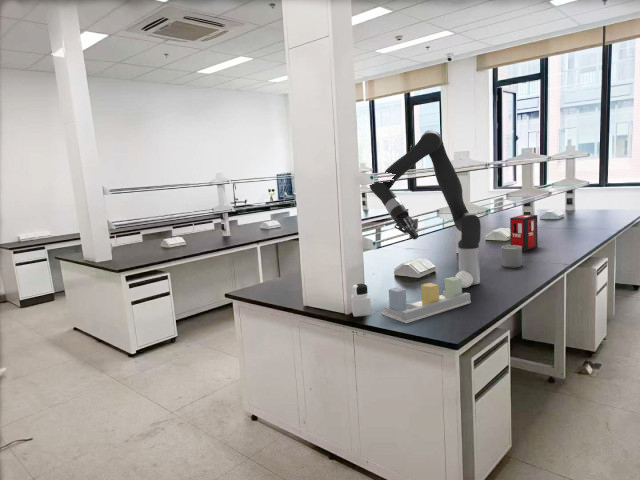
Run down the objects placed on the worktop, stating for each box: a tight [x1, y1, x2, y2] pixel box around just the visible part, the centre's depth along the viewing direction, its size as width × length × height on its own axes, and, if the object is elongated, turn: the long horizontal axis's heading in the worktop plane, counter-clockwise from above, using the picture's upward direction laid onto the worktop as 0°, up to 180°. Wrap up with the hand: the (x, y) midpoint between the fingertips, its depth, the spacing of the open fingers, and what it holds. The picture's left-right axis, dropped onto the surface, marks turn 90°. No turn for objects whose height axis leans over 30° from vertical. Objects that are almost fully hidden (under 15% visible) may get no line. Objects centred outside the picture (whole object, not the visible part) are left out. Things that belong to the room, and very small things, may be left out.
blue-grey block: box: [388, 286, 408, 312], centre depth 179 cm, size 5×4×9 cm
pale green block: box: [444, 276, 463, 299], centre depth 188 cm, size 5×4×9 cm
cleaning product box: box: [509, 214, 538, 252], centre depth 281 cm, size 16×9×20 cm, turn 130°
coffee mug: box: [501, 244, 523, 268], centre depth 243 cm, size 13×10×10 cm
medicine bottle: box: [350, 283, 372, 318], centre depth 184 cm, size 7×7×12 cm
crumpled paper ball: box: [454, 271, 473, 289], centre depth 209 cm, size 8×8×8 cm
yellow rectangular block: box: [420, 282, 440, 306], centre depth 181 cm, size 5×4×9 cm
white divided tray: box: [381, 290, 472, 324], centre depth 184 cm, size 14×35×4 cm, turn 121°
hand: (416, 238), depth 202 cm, fingers closed
